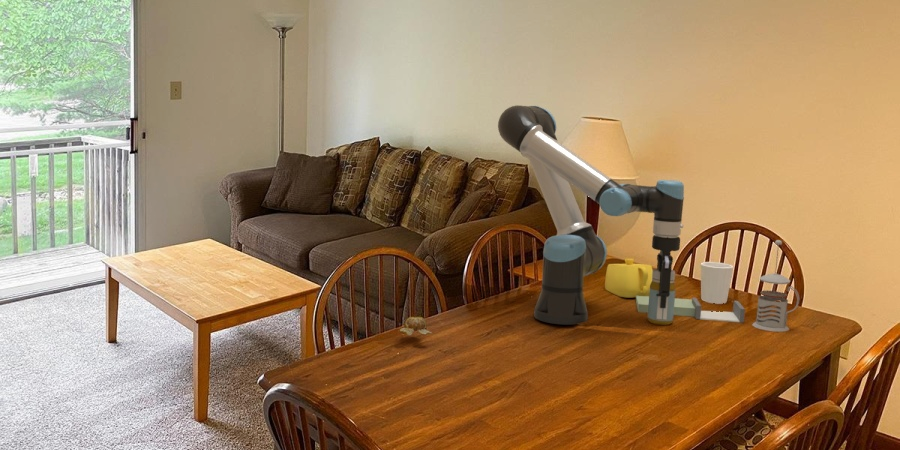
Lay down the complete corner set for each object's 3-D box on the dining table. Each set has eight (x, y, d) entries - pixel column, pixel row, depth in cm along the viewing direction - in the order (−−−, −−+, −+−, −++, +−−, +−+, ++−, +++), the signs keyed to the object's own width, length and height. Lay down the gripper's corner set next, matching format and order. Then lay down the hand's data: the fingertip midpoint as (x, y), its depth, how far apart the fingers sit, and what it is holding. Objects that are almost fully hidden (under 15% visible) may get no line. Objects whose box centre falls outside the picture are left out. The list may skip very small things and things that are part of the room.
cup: (736, 306, 249) (740, 266, 247) (716, 309, 243) (720, 268, 241) (710, 299, 257) (713, 260, 255) (690, 302, 251) (693, 263, 249)
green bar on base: (638, 314, 233) (639, 301, 232) (635, 303, 247) (636, 290, 246) (743, 322, 228) (745, 309, 227) (734, 310, 242) (735, 297, 242)
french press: (757, 320, 231) (764, 236, 228) (799, 327, 224) (808, 241, 221) (748, 327, 223) (756, 239, 220) (791, 334, 216) (800, 245, 213)
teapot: (594, 293, 262) (594, 257, 261) (625, 291, 266) (625, 256, 266) (630, 298, 243) (629, 260, 243) (663, 296, 248) (662, 259, 248)
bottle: (673, 326, 220) (677, 273, 218) (647, 324, 222) (651, 271, 220) (671, 320, 227) (675, 269, 225) (646, 318, 229) (650, 267, 227)
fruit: (400, 335, 200) (400, 320, 199) (398, 328, 208) (399, 314, 207) (432, 335, 200) (433, 320, 200) (430, 328, 209) (430, 314, 208)
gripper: (684, 241, 211) (677, 325, 215) (676, 231, 230) (670, 309, 233) (655, 239, 213) (649, 323, 216) (650, 230, 231) (644, 307, 234)
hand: (660, 315), depth 224 cm, fingers closed on bottle, 5 cm apart
